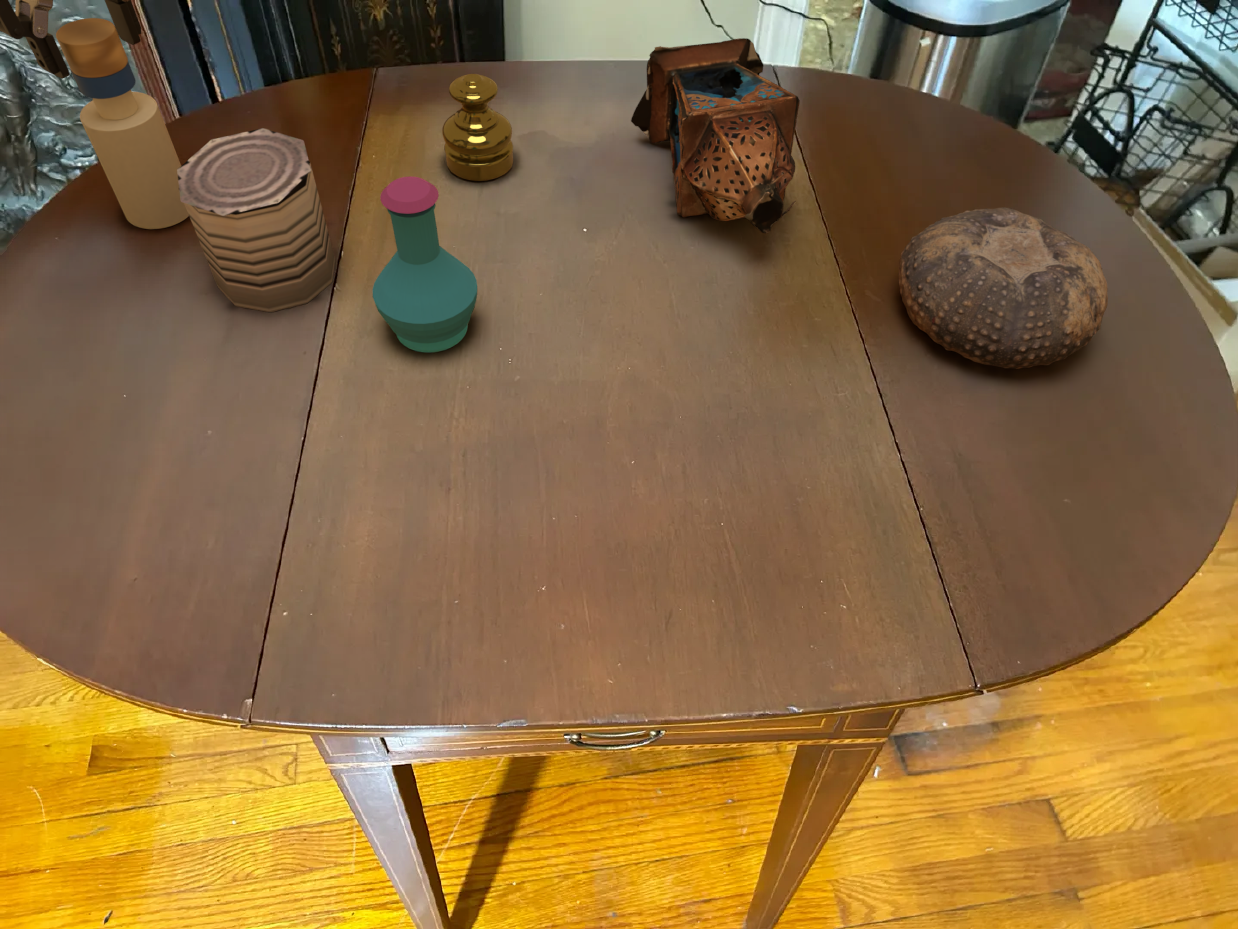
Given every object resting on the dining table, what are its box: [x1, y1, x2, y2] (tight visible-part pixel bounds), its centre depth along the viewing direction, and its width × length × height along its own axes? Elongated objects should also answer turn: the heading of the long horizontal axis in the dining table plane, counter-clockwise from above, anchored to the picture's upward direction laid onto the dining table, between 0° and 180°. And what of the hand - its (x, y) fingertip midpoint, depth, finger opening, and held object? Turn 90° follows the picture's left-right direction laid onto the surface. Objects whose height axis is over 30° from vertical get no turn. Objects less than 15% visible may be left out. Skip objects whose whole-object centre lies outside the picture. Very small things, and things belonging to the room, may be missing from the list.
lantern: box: [630, 37, 801, 234], centre depth 94 cm, size 16×16×25 cm
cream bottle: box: [69, 61, 189, 230], centre depth 88 cm, size 7×7×16 cm
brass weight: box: [441, 73, 514, 182], centre depth 97 cm, size 7×7×10 cm
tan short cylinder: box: [55, 17, 129, 78], centre depth 80 cm, size 5×5×3 cm
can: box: [177, 127, 336, 313], centre depth 84 cm, size 11×11×12 cm
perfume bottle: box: [371, 176, 478, 353], centre depth 79 cm, size 9×9×15 cm
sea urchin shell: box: [898, 207, 1109, 370], centre depth 85 cm, size 19×19×10 cm
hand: (96, 57), depth 81 cm, fingers open, 7 cm apart
